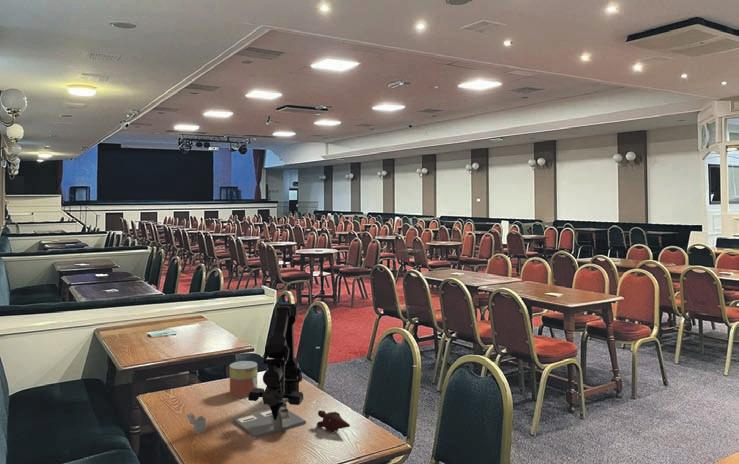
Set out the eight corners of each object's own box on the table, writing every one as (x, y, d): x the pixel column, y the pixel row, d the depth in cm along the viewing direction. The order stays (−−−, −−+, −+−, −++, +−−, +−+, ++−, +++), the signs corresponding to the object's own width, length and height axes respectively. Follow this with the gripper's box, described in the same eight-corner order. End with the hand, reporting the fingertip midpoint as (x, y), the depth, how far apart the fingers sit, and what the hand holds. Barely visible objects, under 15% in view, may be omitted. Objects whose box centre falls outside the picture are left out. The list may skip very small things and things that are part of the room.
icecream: (357, 414, 193) (326, 407, 202) (343, 415, 187) (311, 408, 197) (355, 435, 191) (323, 427, 201) (341, 437, 186) (309, 429, 195)
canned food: (254, 398, 225) (254, 369, 224) (226, 398, 225) (226, 368, 224) (260, 388, 236) (260, 360, 236) (233, 388, 236) (233, 360, 236)
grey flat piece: (202, 428, 195) (202, 406, 195) (206, 430, 195) (205, 407, 194) (186, 436, 189) (186, 413, 189) (190, 437, 188) (190, 414, 188)
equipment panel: (281, 408, 214) (281, 405, 214) (305, 423, 200) (305, 420, 200) (232, 421, 202) (232, 417, 202) (255, 438, 188) (255, 434, 188)
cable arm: (277, 407, 211) (277, 399, 211) (285, 406, 212) (285, 398, 212) (281, 427, 193) (281, 418, 193) (290, 426, 194) (290, 417, 194)
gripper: (242, 382, 191) (241, 426, 192) (295, 386, 188) (294, 431, 189) (254, 371, 202) (253, 413, 203) (304, 376, 199) (303, 418, 200)
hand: (275, 419), depth 198 cm, fingers closed
